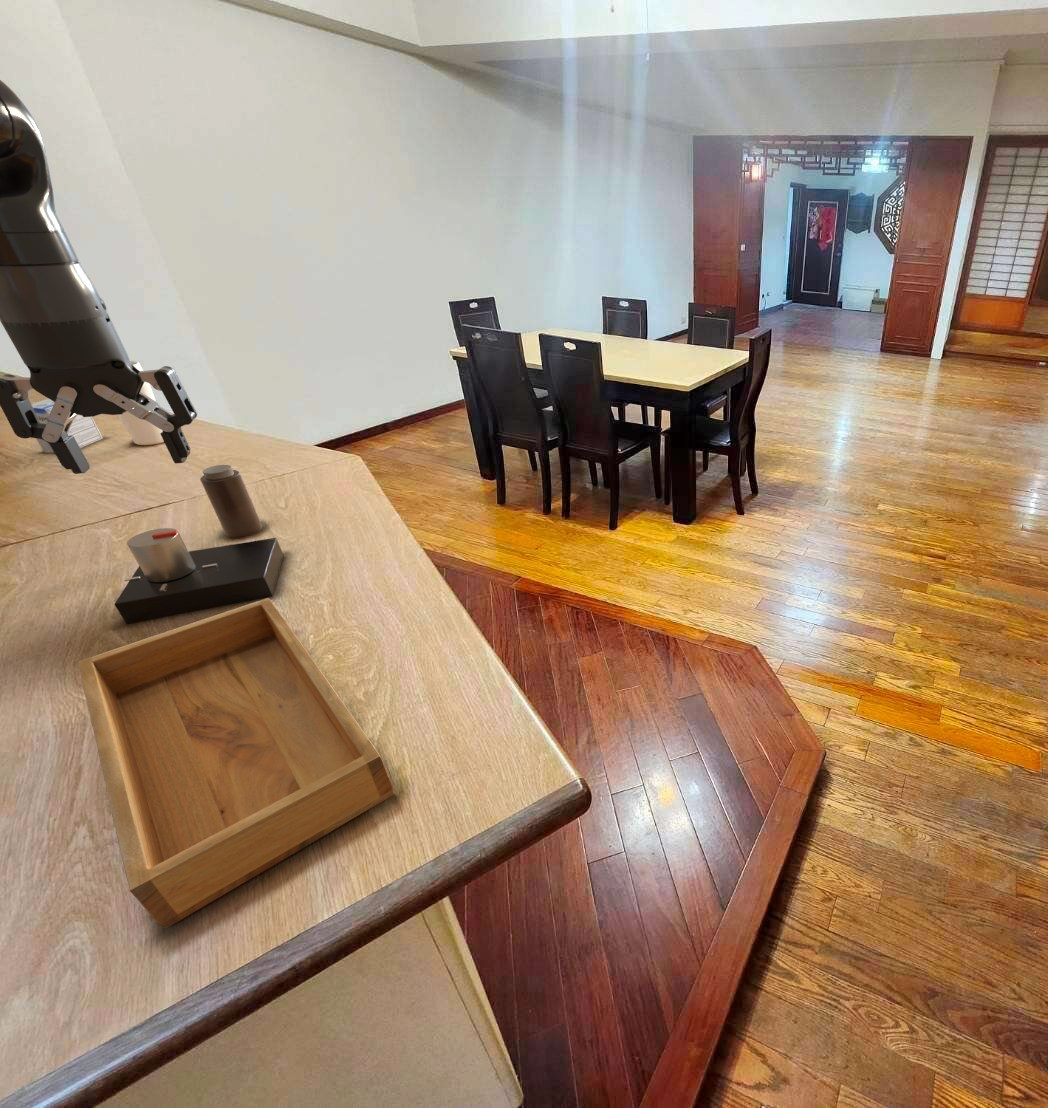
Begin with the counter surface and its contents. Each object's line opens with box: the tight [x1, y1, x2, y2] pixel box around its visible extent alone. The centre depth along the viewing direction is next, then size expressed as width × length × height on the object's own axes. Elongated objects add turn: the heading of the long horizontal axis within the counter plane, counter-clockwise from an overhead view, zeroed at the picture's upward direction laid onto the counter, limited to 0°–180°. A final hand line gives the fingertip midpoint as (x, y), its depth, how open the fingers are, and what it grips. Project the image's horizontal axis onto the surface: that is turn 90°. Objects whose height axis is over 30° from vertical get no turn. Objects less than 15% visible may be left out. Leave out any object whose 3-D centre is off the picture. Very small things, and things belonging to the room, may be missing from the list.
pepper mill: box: [199, 464, 264, 539], centre depth 85 cm, size 4×4×10 cm
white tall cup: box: [117, 360, 164, 446], centre depth 113 cm, size 7×7×15 cm
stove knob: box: [126, 527, 196, 582], centre depth 71 cm, size 5×5×5 cm
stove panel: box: [114, 537, 285, 625], centre depth 74 cm, size 14×11×3 cm
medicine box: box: [31, 398, 104, 454], centre depth 111 cm, size 8×4×9 cm, turn 6°
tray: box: [77, 597, 395, 929], centre depth 52 cm, size 31×15×6 cm, turn 48°
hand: (133, 466), depth 66 cm, fingers open, 8 cm apart
